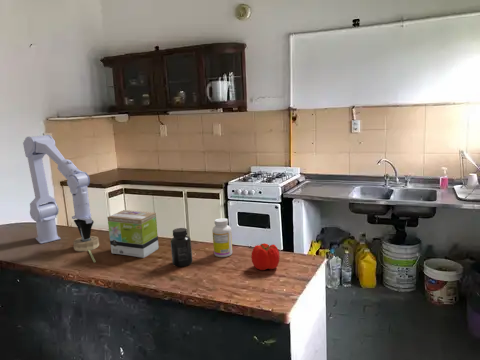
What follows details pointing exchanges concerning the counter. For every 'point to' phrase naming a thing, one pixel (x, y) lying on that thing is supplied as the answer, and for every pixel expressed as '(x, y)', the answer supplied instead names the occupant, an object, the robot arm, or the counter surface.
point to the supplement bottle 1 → (181, 248)
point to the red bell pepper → (265, 256)
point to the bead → (86, 244)
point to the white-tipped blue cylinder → (83, 238)
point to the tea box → (133, 233)
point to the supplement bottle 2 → (222, 238)
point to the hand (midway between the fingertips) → (85, 237)
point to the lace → (91, 256)
